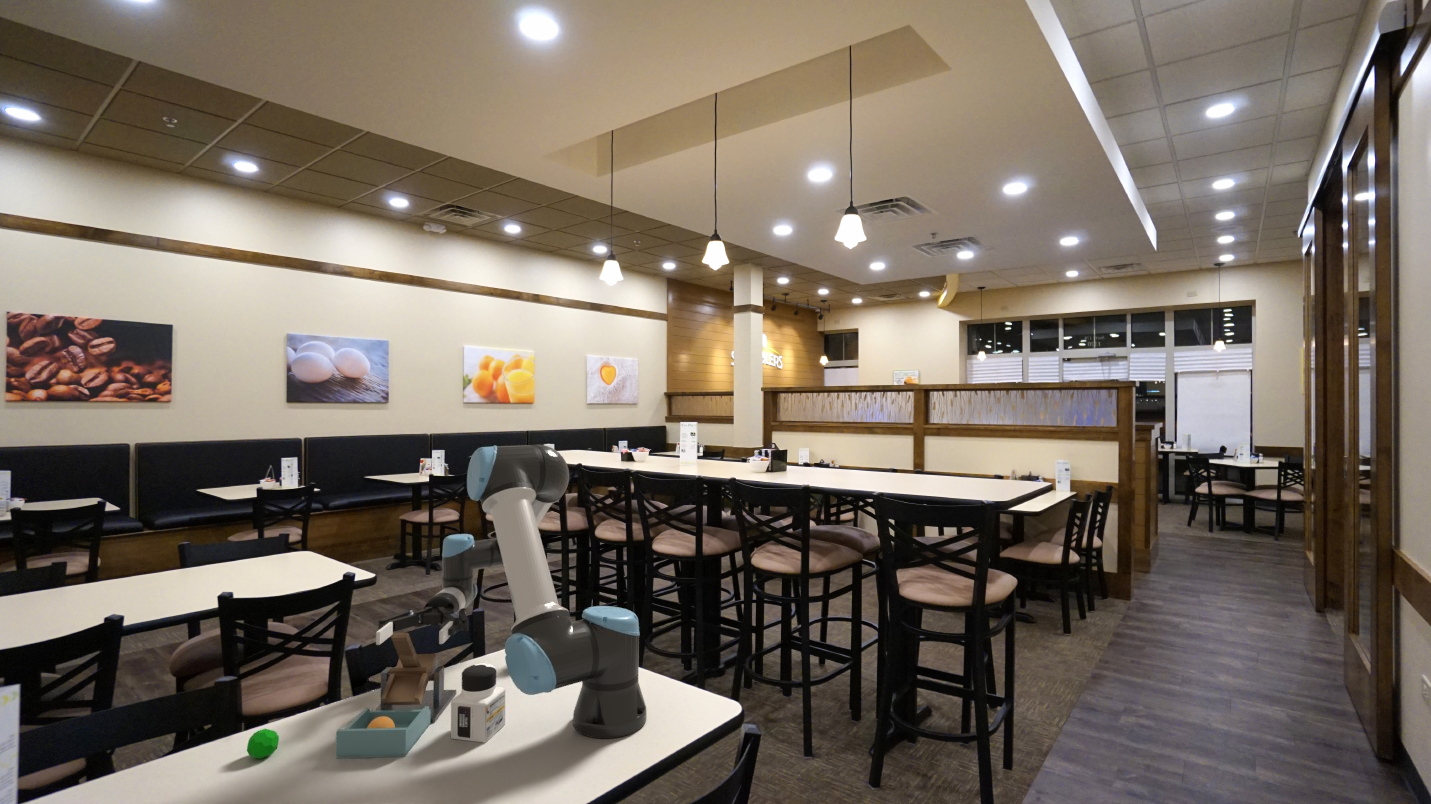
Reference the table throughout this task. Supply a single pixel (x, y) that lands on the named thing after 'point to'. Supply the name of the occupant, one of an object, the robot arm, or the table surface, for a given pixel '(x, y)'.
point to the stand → (431, 698)
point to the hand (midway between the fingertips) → (409, 638)
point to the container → (478, 705)
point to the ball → (382, 723)
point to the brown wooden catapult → (409, 673)
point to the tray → (382, 734)
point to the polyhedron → (262, 743)
